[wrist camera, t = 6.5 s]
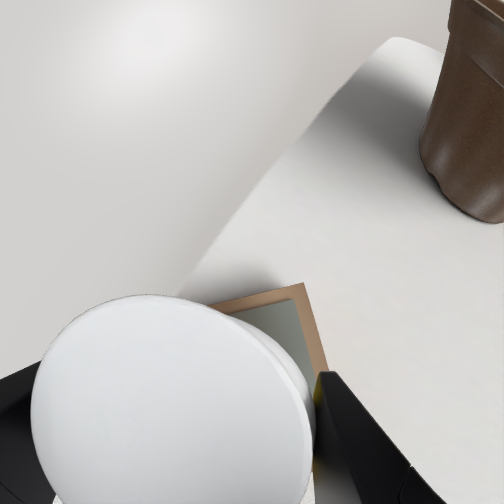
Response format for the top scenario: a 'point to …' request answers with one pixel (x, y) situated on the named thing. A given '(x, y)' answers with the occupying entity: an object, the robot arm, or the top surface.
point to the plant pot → (470, 112)
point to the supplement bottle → (171, 409)
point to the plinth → (284, 325)
